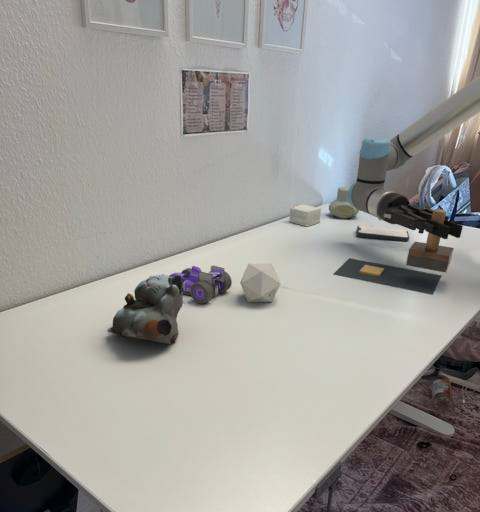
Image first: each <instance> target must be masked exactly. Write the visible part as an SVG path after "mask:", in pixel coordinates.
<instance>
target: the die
mask: <svg viewBox="0 0 480 512" xmlns="http://www.w3.org/2000/svg"><path fill="white" fill-rule="evenodd" d="M239 283H240V285H241V288H242V291H243V293H244V296H245V298H246V300H247V303H273V300H274V298H275V297H276V294H277V292H278V289H279V288H280V286H281V283H282V282H281V281H280V279H279V276H278V274H277V272H276V269H275V267H274V265H273V263H247V266H246V268H245V270H244V273H243V275H242V277H241V280H240V281H239Z"/></svg>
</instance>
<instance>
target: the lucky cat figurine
mask: <svg viewBox="0 0 480 512" xmlns="http://www.w3.org/2000/svg"><path fill="white" fill-rule="evenodd" d="M181 289H183V286H182V282H181V275H178V276H175V277H174V278H172V277H169V275H167V274H156V275H149V277H148V278H146V279H144V280H142V281H140V282H139V283H138V285H136V286H135V288H134V290H133V292H134V295H133V294H131V293H130V292H129V293H127V294H126V295H125V297H124V301H125V303H126V304H124V305H123V307H122V308H120V309H119V310H117V311H116V313H115V315H114V316H113V318H112V326H111V327H109V328H108V329H106V332H107V333H111V334H115V335H118V336H120V337H127V338H132V339H137V340H147V341H151V342H154V343H160V344H168V345H169V344H170V345H173V344H175V343H176V340H177V339H178V337H179V327H178V321H177V318H178V314H179V312H180V311H181V309H182V308H183V304H184V299H183V297H184V296H183V295H184V294H182V292H181Z"/></svg>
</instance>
